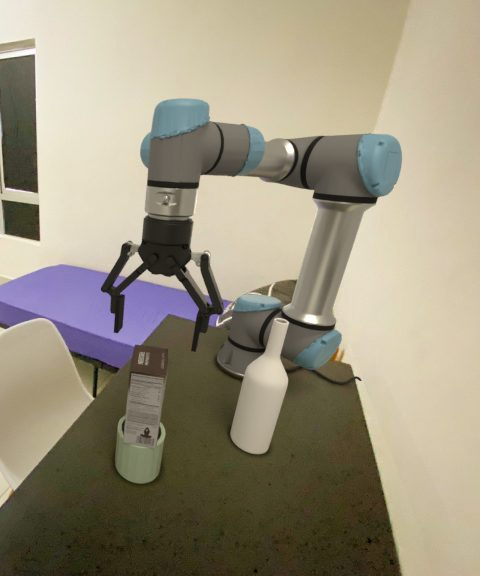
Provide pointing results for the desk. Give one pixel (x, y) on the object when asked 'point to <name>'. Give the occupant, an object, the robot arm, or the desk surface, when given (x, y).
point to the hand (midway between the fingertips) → (154, 338)
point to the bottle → (261, 395)
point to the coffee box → (145, 395)
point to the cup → (138, 457)
